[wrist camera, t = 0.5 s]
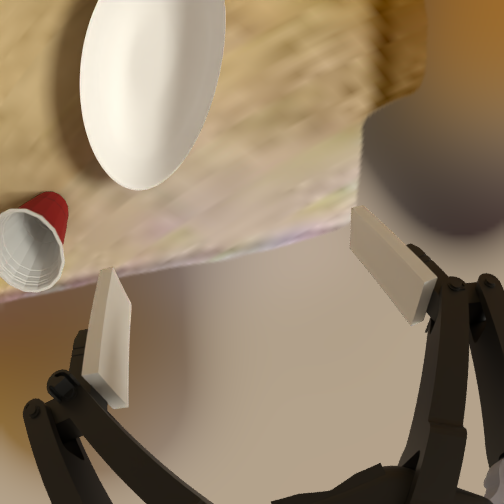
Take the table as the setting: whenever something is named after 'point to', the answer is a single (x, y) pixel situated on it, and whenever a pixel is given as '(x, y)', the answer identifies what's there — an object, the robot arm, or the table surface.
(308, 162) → the table surface
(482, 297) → the robot arm
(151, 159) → the bowl
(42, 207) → the plastic cup
